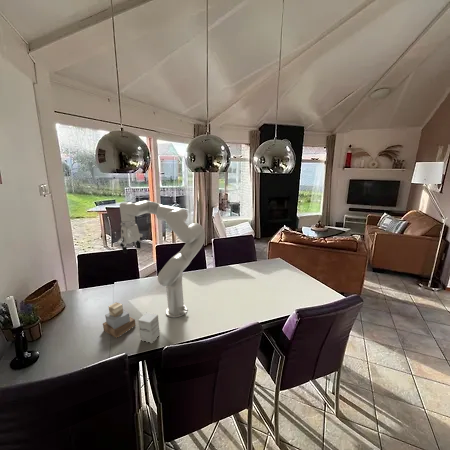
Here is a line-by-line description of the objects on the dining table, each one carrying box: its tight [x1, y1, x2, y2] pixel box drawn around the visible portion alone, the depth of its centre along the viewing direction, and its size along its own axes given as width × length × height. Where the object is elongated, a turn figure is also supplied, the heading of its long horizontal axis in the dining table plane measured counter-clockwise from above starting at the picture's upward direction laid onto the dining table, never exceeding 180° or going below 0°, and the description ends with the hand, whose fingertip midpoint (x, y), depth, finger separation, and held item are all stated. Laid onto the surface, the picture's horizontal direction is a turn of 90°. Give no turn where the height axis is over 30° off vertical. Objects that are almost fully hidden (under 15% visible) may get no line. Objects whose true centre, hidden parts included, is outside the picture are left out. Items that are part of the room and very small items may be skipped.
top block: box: [104, 309, 131, 329], centre depth 142 cm, size 9×9×5 cm
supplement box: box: [137, 312, 161, 344], centre depth 134 cm, size 7×7×13 cm
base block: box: [102, 316, 137, 339], centre depth 144 cm, size 12×12×5 cm
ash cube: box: [108, 301, 124, 317], centre depth 141 cm, size 5×5×5 cm
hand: (132, 250), depth 156 cm, fingers open, 9 cm apart
